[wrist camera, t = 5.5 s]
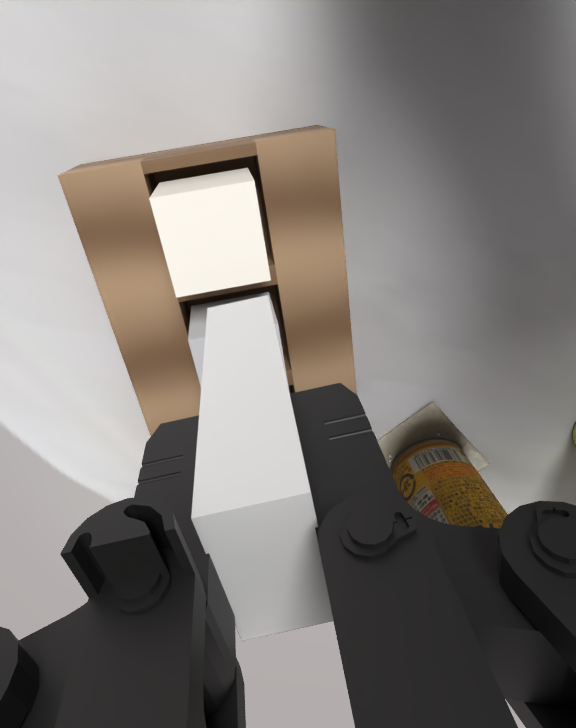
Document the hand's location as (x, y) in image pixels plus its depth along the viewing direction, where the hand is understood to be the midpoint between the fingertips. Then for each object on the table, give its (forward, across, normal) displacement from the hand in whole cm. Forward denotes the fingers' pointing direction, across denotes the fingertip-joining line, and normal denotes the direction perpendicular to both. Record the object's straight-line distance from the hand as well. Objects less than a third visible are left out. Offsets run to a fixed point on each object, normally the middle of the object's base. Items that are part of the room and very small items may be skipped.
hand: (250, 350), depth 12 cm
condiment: (+16, +10, -21) cm, 28 cm away
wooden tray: (+16, -1, -5) cm, 17 cm away
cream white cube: (+12, -1, +1) cm, 12 cm away
